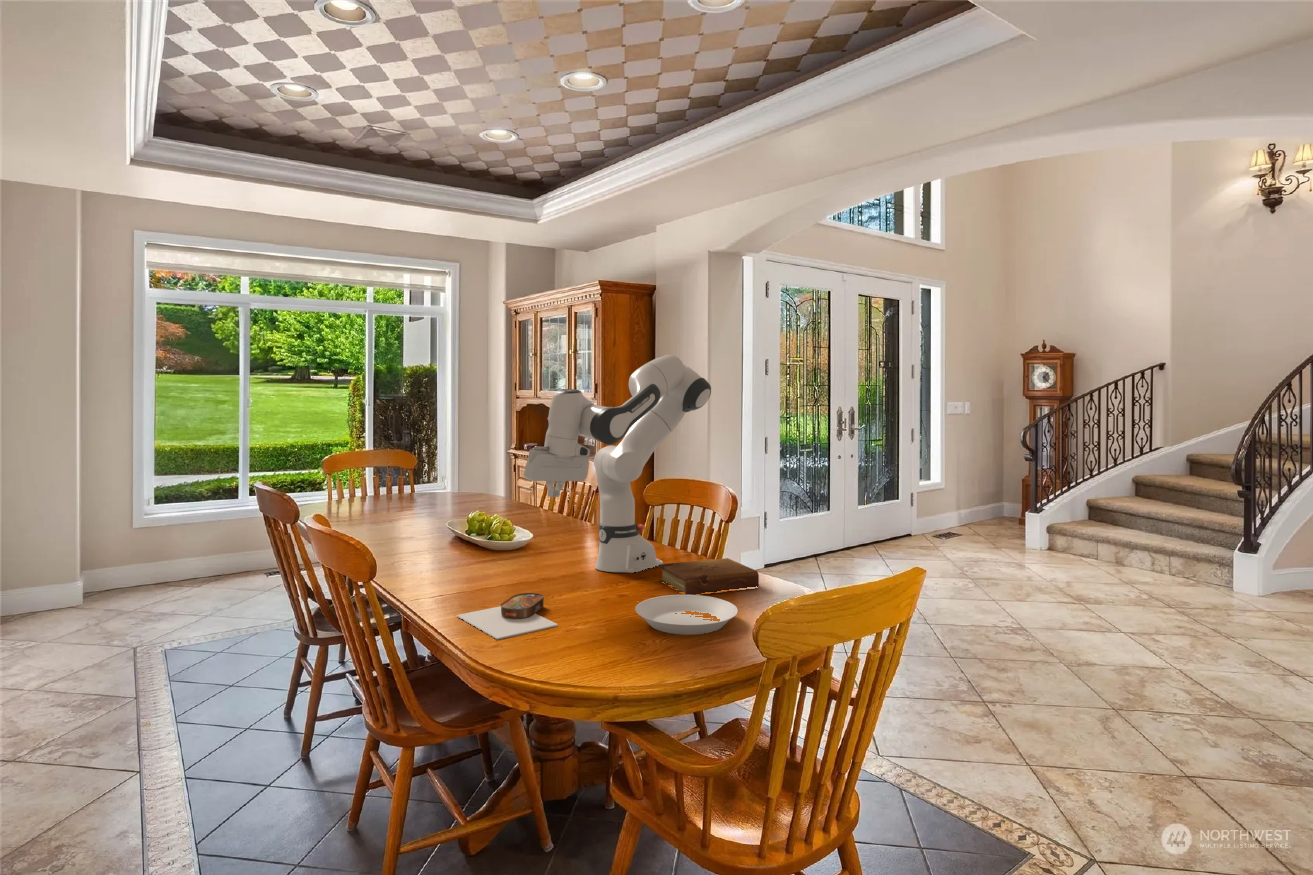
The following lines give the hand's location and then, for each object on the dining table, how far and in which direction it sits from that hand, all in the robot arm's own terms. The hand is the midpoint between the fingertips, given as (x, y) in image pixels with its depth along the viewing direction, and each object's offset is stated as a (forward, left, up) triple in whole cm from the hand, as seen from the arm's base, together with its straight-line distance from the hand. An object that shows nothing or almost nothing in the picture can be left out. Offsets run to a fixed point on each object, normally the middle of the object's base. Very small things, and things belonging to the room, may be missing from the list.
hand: (553, 496), depth 199 cm
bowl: (-12, +42, -28) cm, 52 cm away
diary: (-40, +20, -28) cm, 53 cm away
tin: (+12, +13, -26) cm, 32 cm away
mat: (+22, +14, -27) cm, 38 cm away
